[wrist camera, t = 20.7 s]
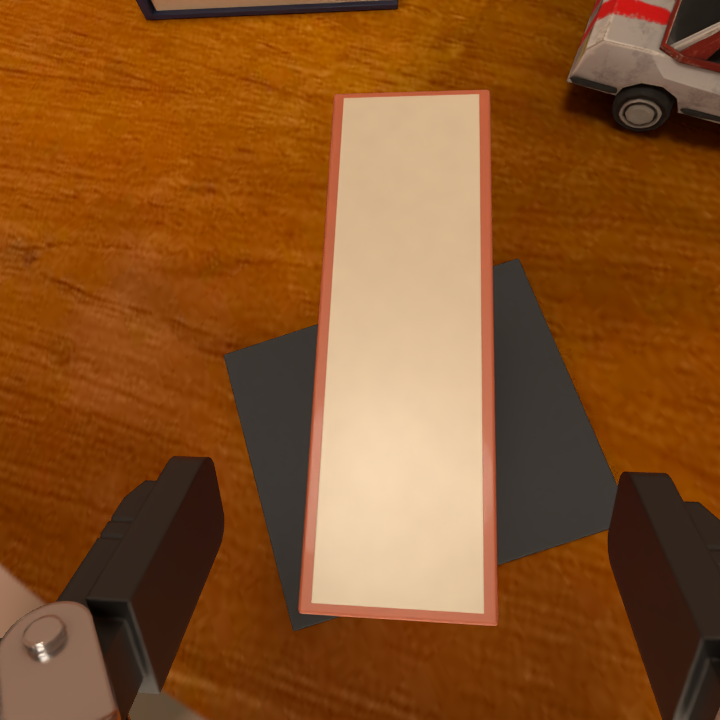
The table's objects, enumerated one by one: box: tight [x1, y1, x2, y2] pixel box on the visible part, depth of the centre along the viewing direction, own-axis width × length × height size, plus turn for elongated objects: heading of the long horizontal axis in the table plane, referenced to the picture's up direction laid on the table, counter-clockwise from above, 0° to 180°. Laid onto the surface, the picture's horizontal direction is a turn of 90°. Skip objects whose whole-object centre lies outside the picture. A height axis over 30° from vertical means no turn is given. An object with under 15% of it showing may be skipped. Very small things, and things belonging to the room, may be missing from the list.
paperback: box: [298, 90, 498, 626], centre depth 19 cm, size 4×11×14 cm, turn 177°
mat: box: [224, 259, 618, 631], centre depth 26 cm, size 14×12×1 cm
